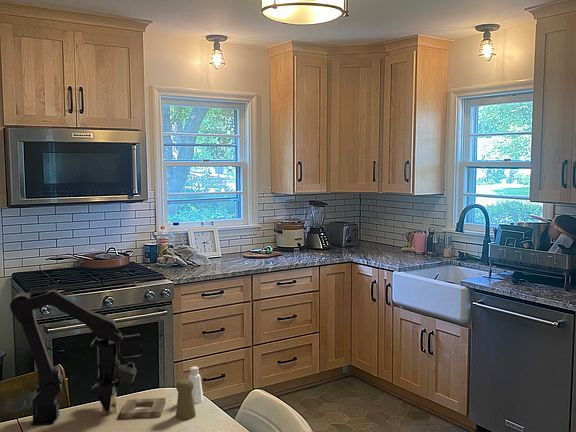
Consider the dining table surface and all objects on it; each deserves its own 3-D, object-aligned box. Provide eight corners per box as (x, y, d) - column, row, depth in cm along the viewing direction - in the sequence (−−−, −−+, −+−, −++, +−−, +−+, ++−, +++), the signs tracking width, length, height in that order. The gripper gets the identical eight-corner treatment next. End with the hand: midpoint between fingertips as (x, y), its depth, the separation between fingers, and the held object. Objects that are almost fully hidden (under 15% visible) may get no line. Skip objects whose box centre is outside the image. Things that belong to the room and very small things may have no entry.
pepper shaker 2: (183, 402, 186) (182, 368, 185) (193, 396, 191) (192, 363, 190) (196, 405, 183) (195, 371, 183) (206, 399, 188) (206, 366, 188)
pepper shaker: (191, 420, 171) (190, 384, 171) (172, 419, 173) (171, 383, 172) (198, 412, 177) (197, 377, 177) (180, 411, 179) (179, 376, 178)
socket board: (120, 418, 174) (120, 413, 174) (127, 404, 185) (127, 399, 185) (160, 416, 175) (160, 411, 175) (165, 402, 186) (165, 397, 186)
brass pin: (100, 415, 176) (99, 394, 176) (103, 409, 181) (103, 389, 180) (115, 414, 177) (114, 394, 176) (118, 409, 181) (117, 388, 181)
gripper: (128, 367, 169) (130, 419, 170) (139, 349, 188) (140, 395, 189) (89, 369, 168) (91, 421, 169) (104, 350, 187) (105, 397, 188)
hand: (109, 408), depth 179 cm, fingers closed on brass pin, 4 cm apart
